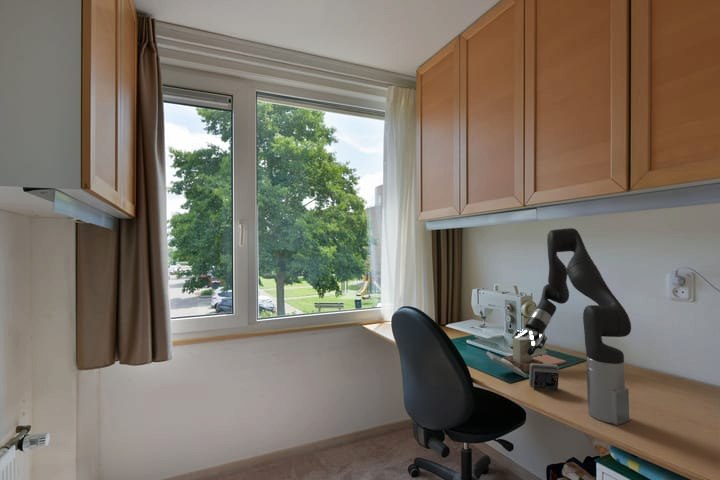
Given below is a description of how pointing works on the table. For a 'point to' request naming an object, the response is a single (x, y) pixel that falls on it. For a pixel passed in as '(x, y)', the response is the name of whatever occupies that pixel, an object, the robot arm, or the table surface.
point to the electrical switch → (544, 377)
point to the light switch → (506, 364)
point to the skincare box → (521, 349)
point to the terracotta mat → (549, 360)
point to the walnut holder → (522, 366)
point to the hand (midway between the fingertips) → (520, 351)
